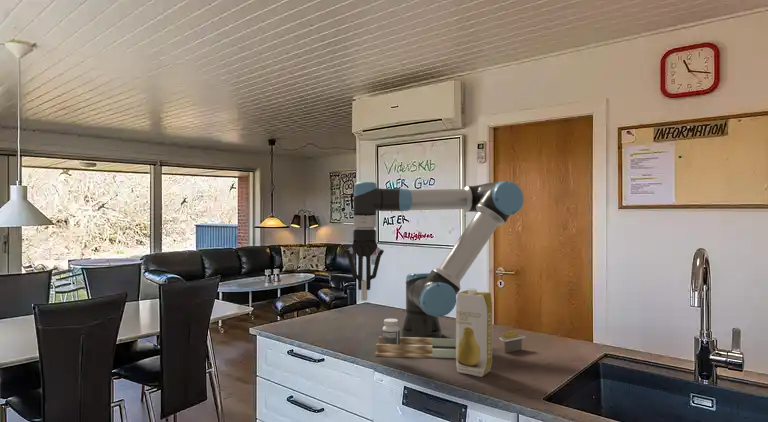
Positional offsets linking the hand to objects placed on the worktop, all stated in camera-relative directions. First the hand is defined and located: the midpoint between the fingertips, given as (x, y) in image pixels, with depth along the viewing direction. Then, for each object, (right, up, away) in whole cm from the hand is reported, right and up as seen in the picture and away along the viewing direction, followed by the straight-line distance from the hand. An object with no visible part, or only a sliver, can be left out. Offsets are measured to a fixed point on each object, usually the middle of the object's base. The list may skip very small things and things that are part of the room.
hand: (364, 299), depth 164 cm
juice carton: (+32, -17, -23) cm, 43 cm away
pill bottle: (+9, -17, -1) cm, 19 cm away
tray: (+29, -17, -2) cm, 34 cm away
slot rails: (+13, -17, -1) cm, 21 cm away
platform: (+49, -17, 0) cm, 52 cm away
